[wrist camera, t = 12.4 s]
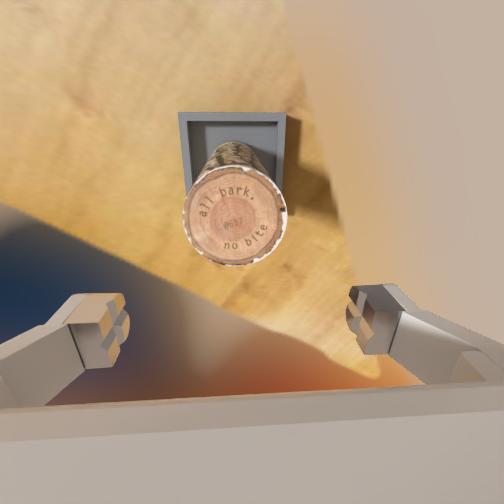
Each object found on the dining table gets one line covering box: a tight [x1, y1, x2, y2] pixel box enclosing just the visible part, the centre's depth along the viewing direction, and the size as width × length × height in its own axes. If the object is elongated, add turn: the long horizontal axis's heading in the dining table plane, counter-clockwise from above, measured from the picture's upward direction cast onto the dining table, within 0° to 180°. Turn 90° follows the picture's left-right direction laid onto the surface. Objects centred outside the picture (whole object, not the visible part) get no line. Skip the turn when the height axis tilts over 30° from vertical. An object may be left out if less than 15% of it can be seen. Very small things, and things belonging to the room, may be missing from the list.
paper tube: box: [183, 141, 287, 266], centre depth 29 cm, size 7×7×25 cm
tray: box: [178, 112, 286, 196], centre depth 39 cm, size 14×14×3 cm
